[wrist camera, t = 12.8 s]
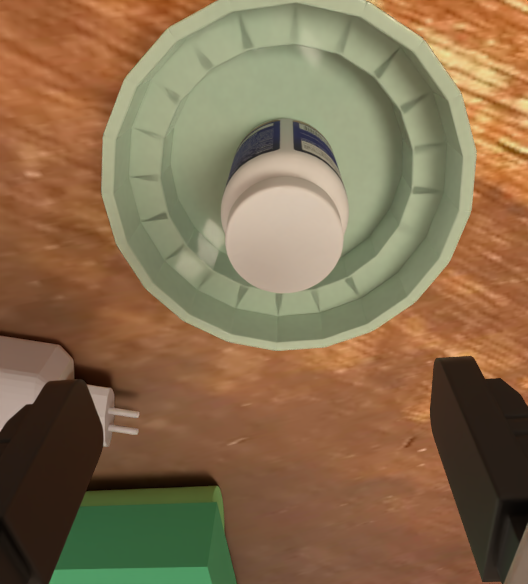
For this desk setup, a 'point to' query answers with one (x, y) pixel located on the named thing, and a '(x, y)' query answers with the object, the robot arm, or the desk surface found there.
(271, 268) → the pill bottle
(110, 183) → the ceramic bowl
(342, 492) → the desk surface
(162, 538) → the toy tank
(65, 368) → the charger
